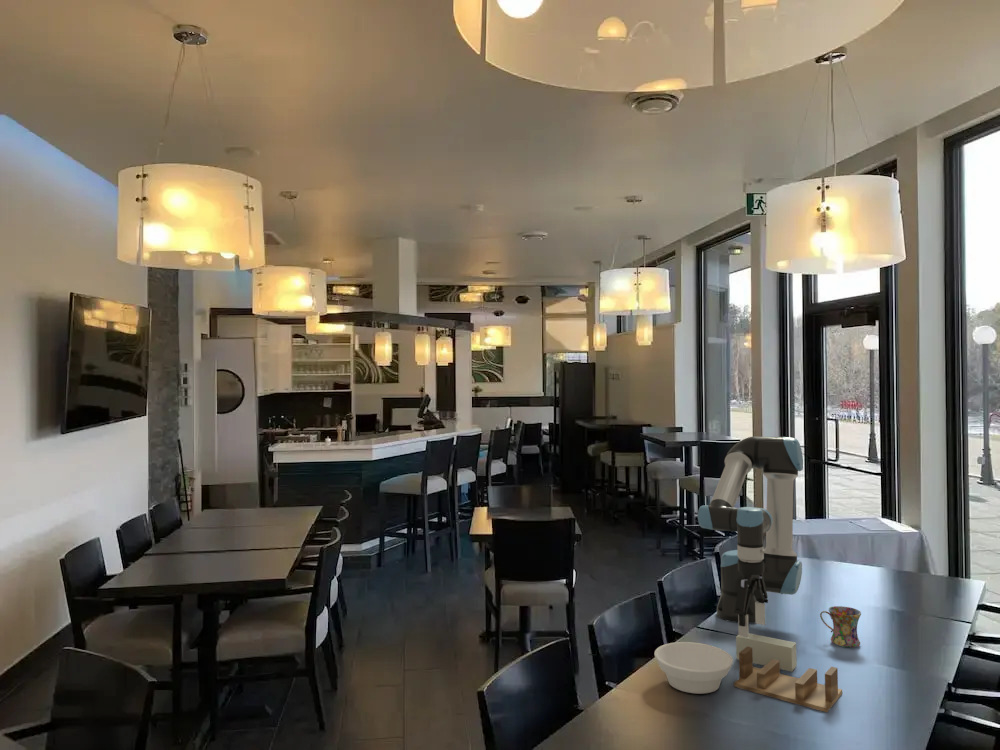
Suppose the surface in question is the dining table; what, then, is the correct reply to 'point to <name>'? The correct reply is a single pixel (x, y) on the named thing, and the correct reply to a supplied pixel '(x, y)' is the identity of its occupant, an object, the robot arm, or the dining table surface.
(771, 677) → the rack
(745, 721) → the dining table surface
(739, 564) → the robot arm
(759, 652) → the block
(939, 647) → the dining table surface
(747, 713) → the dining table surface
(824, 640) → the dining table surface
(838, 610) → the mug
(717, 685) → the bowl
